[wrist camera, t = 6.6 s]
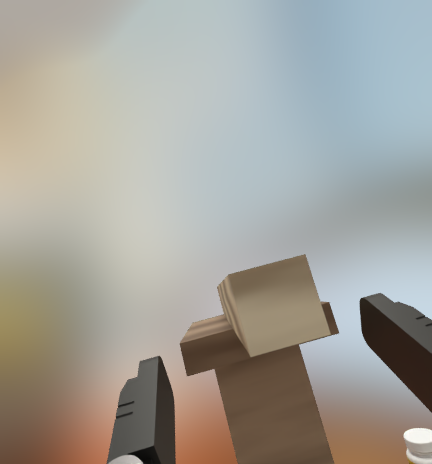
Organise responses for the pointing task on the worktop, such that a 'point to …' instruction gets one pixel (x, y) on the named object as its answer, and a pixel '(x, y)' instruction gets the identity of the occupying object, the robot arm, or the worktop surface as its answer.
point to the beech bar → (273, 305)
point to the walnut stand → (261, 394)
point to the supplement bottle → (419, 445)
